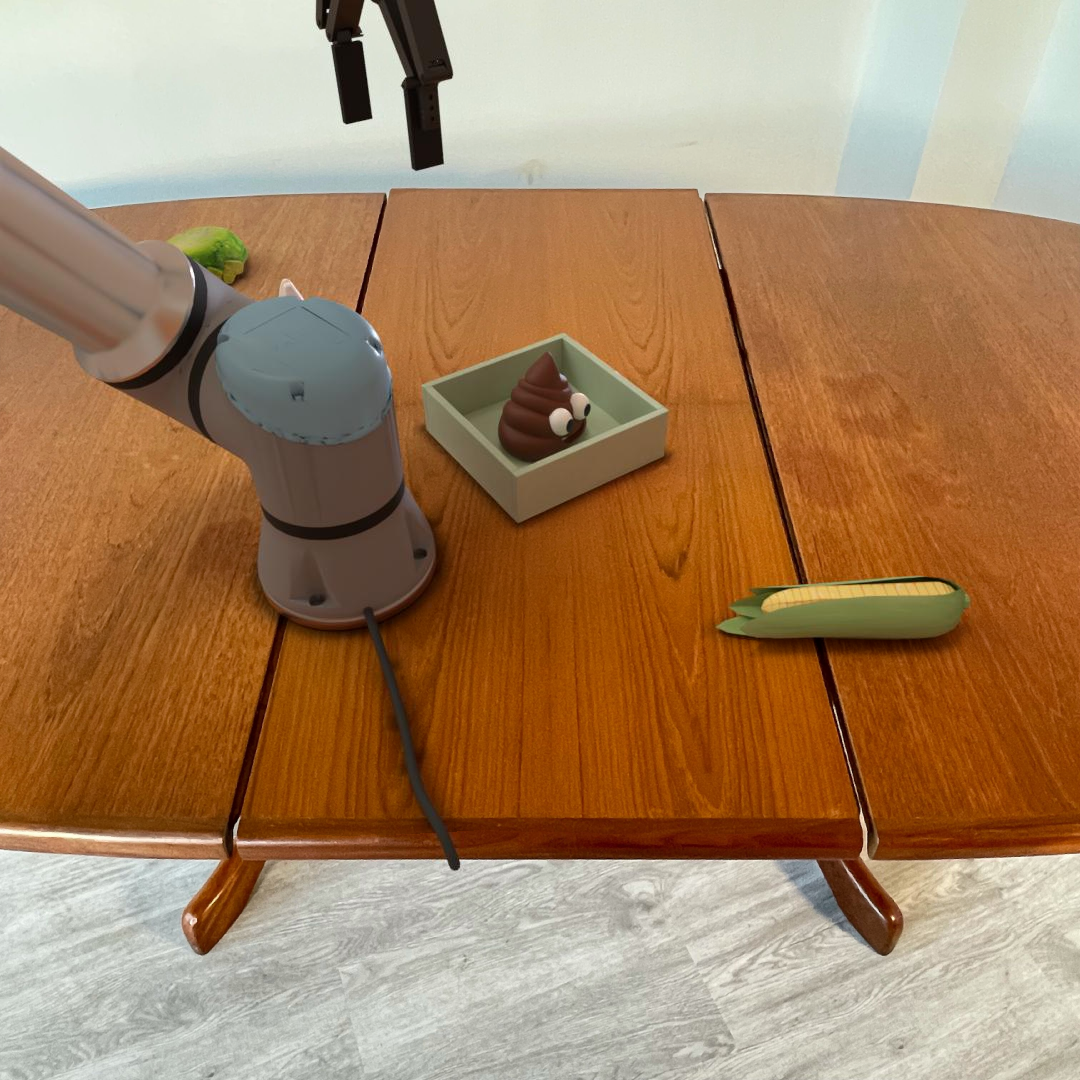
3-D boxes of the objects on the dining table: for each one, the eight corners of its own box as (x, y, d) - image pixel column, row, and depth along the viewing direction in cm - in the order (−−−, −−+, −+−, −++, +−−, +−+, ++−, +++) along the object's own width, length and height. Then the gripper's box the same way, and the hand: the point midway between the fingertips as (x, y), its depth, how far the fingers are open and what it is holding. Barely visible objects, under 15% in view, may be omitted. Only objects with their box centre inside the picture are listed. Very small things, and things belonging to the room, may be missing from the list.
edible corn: (968, 647, 70) (988, 609, 67) (720, 655, 70) (728, 618, 67) (944, 599, 74) (962, 561, 71) (709, 607, 74) (716, 569, 71)
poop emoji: (537, 399, 95) (537, 322, 88) (605, 426, 91) (609, 347, 85) (481, 446, 89) (475, 367, 82) (550, 477, 85) (550, 397, 79)
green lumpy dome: (266, 264, 119) (257, 228, 116) (205, 298, 112) (194, 261, 109) (206, 245, 124) (196, 210, 120) (145, 277, 117) (132, 241, 113)
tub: (664, 456, 88) (669, 410, 85) (517, 523, 81) (516, 477, 78) (563, 376, 99) (564, 332, 95) (426, 429, 92) (420, 384, 88)
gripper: (488, -148, 58) (501, 177, 72) (330, -179, 73) (367, 96, 87) (386, -139, 55) (420, 199, 69) (242, -173, 70) (296, 111, 84)
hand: (391, 142), depth 78 cm, fingers open, 13 cm apart
